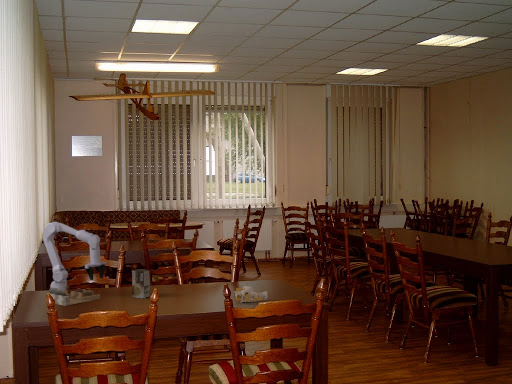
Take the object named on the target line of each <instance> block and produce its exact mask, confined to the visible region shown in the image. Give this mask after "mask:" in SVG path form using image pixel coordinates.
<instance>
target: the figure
mask: <svg viewBox="0 0 512 384" xmlns="http://www.w3.org/2000/svg"><path fill="white" fill-rule="evenodd" d="M235 289H236V290H235V291H233V293H235V301H236V300H237V301H236V302H241V301H242V302H245V303H246V302H250V303H251V302H252V301H254V302H255V303H256V301H259V302H260V301H266V300H268V291H266V290H265V291H263V292H256V291H254V288H253V287H252V286H249V285H243V286H242V288H241V287H236V288H235ZM240 300H241V301H240ZM242 302H241V303H242Z"/></svg>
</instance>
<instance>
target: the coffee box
mask: <svg viewBox="0 0 512 384" xmlns="http://www.w3.org/2000/svg"><path fill="white" fill-rule="evenodd" d="M131 272H132V273H131V275H132V277H131V278H132V280H131V282H132V284H131V287H132V289H131V290H132V293H131V294H132V295H131V296H132V298H134V297H135V298H137V299H143V298H144V299H147V298H146V297H149V296H150V297H151V269H141V268H138V269H134V270H131ZM150 297H149V298H150ZM135 298H134V299H135Z"/></svg>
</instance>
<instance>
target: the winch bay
mask: <svg viewBox="0 0 512 384" xmlns="http://www.w3.org/2000/svg"><path fill="white" fill-rule="evenodd" d="M69 290H70V286H68V285H67V286H65V290H64V289H57V288H49V289H48V292H47V293H46V295H47V294H50V295H51V296H52V297H53V299H54V300H55V305H59V306H64V307H66V306H70V305H75V304H80V303H87V302H92V301H98V300H101V294H94V295H93V296H87V297H82V298H76V299H71V293H69V292H68V291H69Z"/></svg>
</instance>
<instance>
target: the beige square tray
mask: <svg viewBox="0 0 512 384" xmlns="http://www.w3.org/2000/svg"><path fill="white" fill-rule="evenodd" d="M70 294H71V299H76V298H82V297H87V296H93V295H95V293H94V290H89V289H88V290H87V289H78V290H72V291H70Z"/></svg>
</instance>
